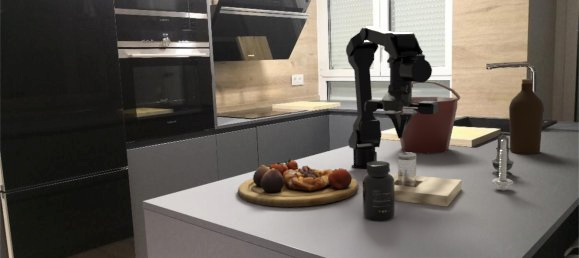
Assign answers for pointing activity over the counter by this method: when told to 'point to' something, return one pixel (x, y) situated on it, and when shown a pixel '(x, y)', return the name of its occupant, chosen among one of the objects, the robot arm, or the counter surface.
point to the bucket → (431, 125)
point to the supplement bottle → (378, 192)
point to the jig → (428, 190)
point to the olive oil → (526, 120)
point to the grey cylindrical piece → (407, 169)
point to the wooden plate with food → (297, 185)
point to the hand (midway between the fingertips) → (400, 138)
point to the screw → (502, 169)
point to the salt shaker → (497, 161)
